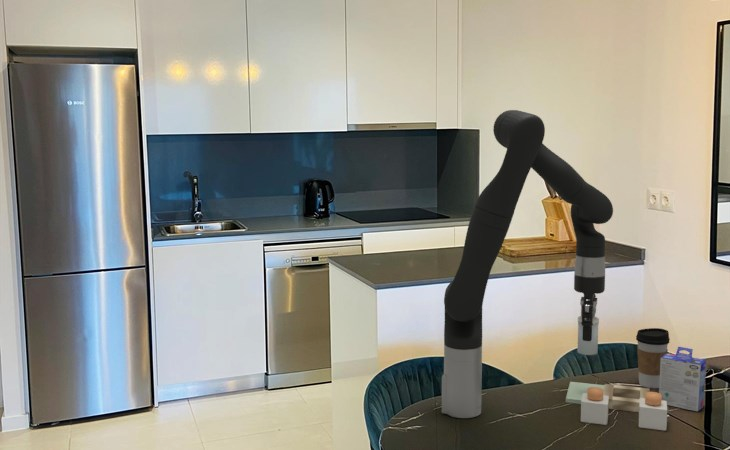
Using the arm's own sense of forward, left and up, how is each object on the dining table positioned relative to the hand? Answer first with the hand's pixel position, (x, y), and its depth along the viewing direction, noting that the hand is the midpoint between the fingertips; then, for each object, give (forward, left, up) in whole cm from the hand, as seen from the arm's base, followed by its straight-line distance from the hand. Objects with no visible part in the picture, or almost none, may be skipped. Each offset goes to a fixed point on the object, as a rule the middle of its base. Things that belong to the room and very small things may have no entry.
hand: (587, 337), depth 190 cm
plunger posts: (+9, -14, -16) cm, 23 cm away
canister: (0, 0, -4) cm, 4 cm away
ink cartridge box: (+23, +1, -16) cm, 28 cm away
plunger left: (+3, -15, -14) cm, 21 cm away
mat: (0, 0, -16) cm, 16 cm away
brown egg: (+16, -14, -14) cm, 26 cm away
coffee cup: (+16, +14, -16) cm, 27 cm away
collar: (+10, -2, -16) cm, 19 cm away
